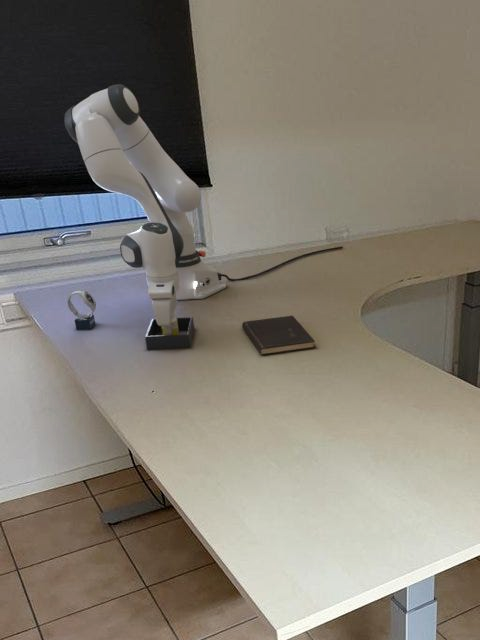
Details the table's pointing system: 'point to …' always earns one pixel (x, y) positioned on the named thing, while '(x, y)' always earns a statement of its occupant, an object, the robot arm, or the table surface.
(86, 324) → the watch
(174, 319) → the supplement bottle
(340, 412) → the table surface
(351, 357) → the table surface
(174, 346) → the tray
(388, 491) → the table surface
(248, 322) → the hardcover book
